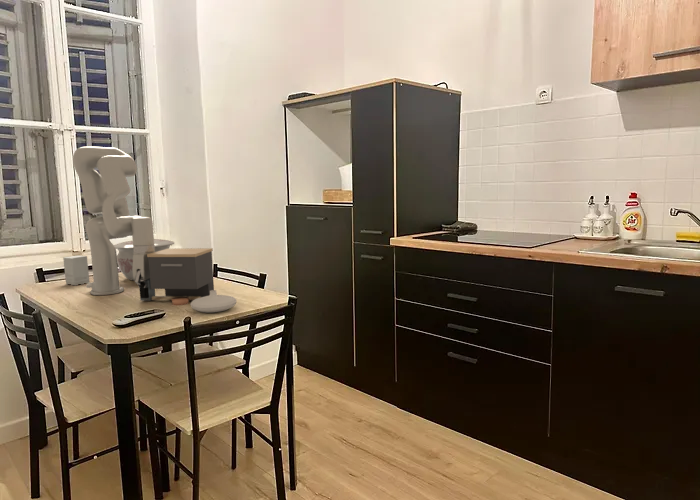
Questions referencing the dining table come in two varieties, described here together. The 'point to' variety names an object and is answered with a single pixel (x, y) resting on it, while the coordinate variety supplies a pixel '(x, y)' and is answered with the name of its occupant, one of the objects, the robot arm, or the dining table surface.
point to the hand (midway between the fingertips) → (147, 296)
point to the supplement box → (76, 270)
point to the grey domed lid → (213, 303)
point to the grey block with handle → (153, 297)
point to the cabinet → (182, 271)
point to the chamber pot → (127, 254)
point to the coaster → (180, 300)
